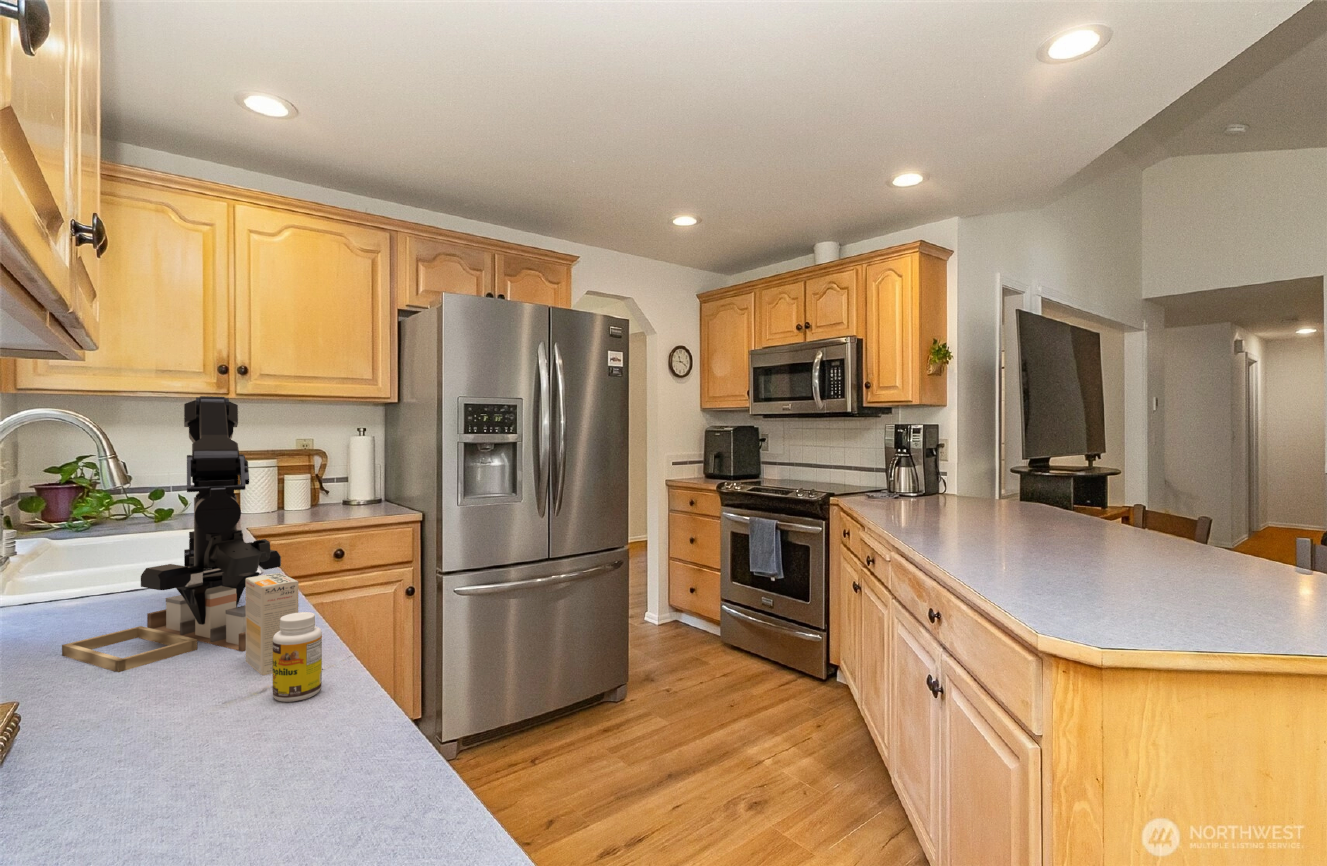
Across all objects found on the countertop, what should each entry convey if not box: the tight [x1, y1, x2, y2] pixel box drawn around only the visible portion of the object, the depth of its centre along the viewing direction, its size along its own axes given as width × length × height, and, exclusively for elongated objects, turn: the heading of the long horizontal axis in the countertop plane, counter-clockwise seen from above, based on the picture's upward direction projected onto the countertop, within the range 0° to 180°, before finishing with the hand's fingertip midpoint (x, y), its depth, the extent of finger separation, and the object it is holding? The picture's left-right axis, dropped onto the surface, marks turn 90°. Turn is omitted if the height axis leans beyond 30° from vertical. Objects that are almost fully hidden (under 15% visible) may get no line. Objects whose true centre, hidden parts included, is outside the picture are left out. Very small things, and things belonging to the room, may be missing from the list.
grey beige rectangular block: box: [165, 594, 195, 631], centre depth 108 cm, size 4×4×5 cm
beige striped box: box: [195, 586, 237, 638], centre depth 105 cm, size 4×4×7 cm
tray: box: [61, 625, 198, 673], centre depth 96 cm, size 15×10×2 cm, turn 65°
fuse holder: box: [146, 608, 246, 653], centre depth 105 cm, size 25×7×4 cm, turn 65°
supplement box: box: [244, 572, 299, 676], centre depth 92 cm, size 8×5×13 cm, turn 47°
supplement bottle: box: [271, 611, 323, 703], centre depth 84 cm, size 6×6×10 cm
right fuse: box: [226, 604, 246, 645], centre depth 101 cm, size 4×4×5 cm
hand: (215, 620), depth 105 cm, fingers closed on beige striped box, 4 cm apart
